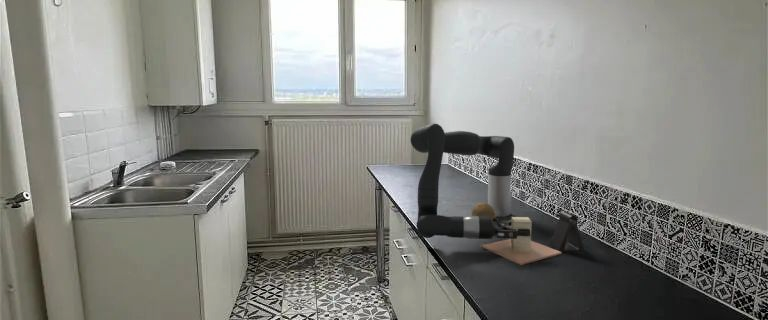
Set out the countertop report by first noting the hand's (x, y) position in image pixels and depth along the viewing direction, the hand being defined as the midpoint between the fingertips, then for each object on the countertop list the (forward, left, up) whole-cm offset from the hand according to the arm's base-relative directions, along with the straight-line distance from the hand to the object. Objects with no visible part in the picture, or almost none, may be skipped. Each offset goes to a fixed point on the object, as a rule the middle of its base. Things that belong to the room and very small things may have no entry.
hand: (527, 228), depth 147 cm
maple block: (+2, -1, -7) cm, 7 cm away
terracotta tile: (+2, -1, -8) cm, 8 cm away
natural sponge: (-4, -26, -8) cm, 28 cm away
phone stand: (-13, +5, -8) cm, 16 cm away
